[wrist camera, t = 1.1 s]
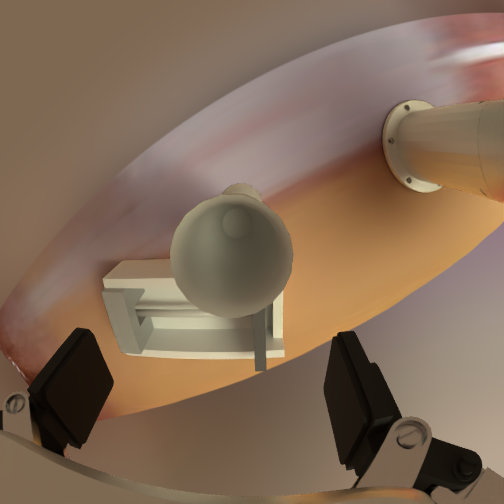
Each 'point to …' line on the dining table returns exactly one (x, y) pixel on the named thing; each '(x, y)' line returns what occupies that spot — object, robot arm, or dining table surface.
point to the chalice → (231, 254)
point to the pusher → (258, 317)
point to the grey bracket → (178, 318)
